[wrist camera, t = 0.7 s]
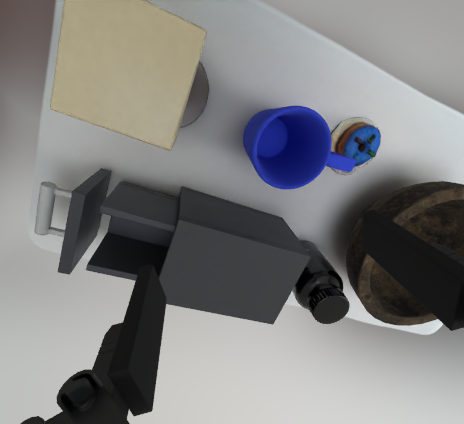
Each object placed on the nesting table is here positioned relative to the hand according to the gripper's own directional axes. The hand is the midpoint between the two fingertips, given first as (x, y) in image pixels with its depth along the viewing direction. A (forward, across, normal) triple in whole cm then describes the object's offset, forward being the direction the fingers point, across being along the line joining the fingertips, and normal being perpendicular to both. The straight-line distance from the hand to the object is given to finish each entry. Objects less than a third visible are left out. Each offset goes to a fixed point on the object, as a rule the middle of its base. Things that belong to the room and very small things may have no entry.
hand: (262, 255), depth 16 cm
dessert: (+22, +18, -1) cm, 29 cm away
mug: (+22, +8, +2) cm, 24 cm away
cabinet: (+22, -2, -10) cm, 24 cm away
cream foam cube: (+4, -4, +11) cm, 12 cm away
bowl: (+22, +24, -17) cm, 37 cm away
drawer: (+21, -13, -3) cm, 25 cm away
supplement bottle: (+22, +9, -18) cm, 30 cm away
